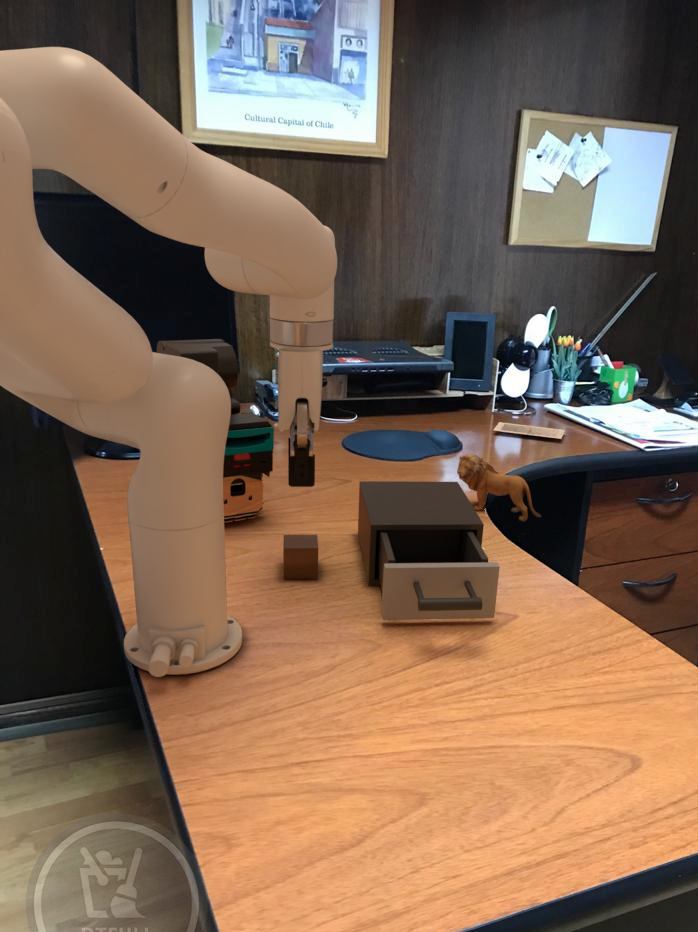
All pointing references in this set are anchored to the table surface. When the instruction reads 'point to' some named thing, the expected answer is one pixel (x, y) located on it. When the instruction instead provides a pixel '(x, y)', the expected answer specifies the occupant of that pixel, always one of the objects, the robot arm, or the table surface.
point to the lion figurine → (493, 484)
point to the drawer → (434, 575)
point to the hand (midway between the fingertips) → (301, 475)
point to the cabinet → (410, 513)
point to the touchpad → (529, 430)
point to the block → (300, 557)
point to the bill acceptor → (234, 431)
